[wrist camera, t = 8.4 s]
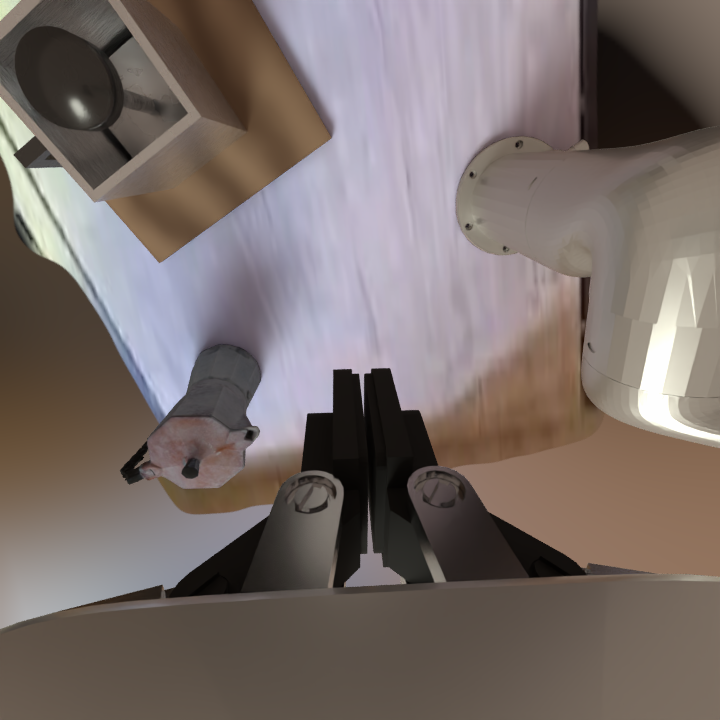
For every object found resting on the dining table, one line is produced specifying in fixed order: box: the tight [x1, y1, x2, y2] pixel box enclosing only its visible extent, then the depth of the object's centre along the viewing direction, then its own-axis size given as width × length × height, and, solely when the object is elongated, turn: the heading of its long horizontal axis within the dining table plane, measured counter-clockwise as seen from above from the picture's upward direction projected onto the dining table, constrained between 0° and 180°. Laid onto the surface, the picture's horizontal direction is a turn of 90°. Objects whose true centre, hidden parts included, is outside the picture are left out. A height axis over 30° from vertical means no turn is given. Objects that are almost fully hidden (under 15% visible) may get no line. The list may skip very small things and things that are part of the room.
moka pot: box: [120, 345, 261, 488], centre depth 46 cm, size 10×15×20 cm, turn 113°
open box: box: [0, 0, 247, 202], centre depth 33 cm, size 13×10×16 cm
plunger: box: [15, 26, 188, 158], centre depth 29 cm, size 8×8×13 cm
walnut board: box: [106, 0, 331, 263], centre depth 41 cm, size 24×20×1 cm
